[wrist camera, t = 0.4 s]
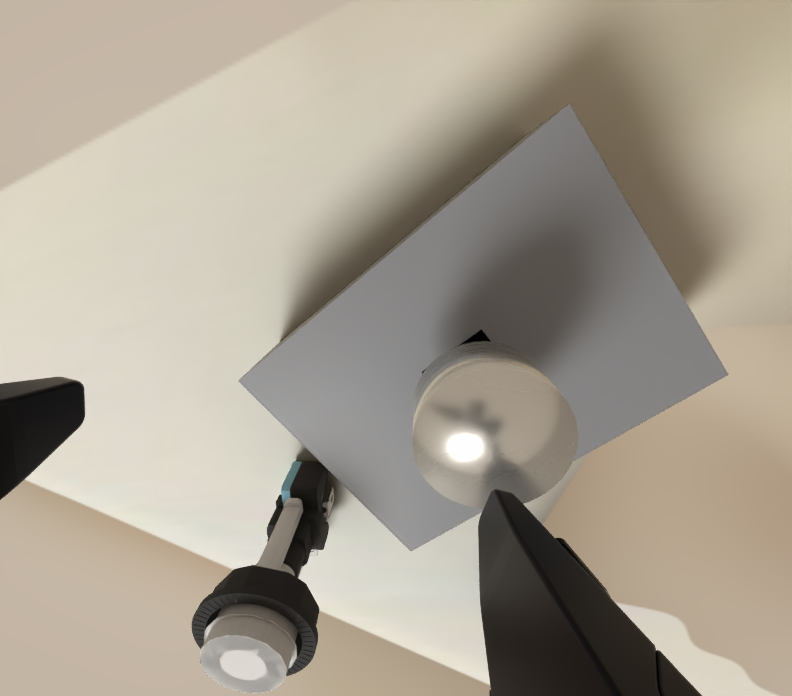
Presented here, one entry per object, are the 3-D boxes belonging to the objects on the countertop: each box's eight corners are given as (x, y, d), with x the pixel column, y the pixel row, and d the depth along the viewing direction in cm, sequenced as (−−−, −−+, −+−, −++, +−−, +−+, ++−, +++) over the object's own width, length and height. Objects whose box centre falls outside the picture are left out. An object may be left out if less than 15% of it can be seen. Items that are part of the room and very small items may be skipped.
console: (653, 335, 19) (728, 374, 15) (412, 483, 23) (410, 551, 19) (526, 134, 17) (569, 103, 12) (279, 342, 21) (238, 380, 16)
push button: (354, 538, 25) (317, 729, 16) (278, 534, 26) (197, 720, 16) (350, 456, 23) (302, 623, 14) (266, 453, 23) (164, 615, 14)
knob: (534, 361, 18) (609, 458, 11) (453, 414, 19) (473, 531, 12) (476, 284, 17) (518, 335, 10) (394, 345, 18) (379, 430, 11)
